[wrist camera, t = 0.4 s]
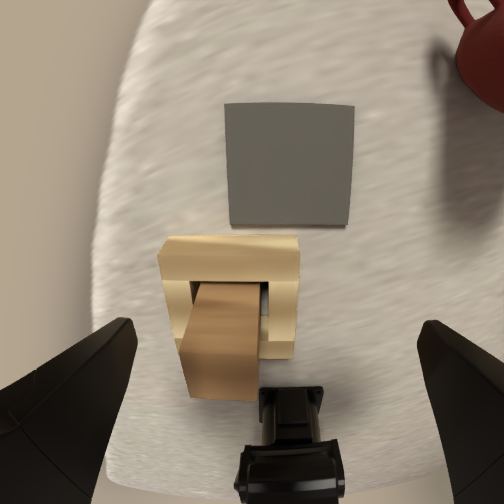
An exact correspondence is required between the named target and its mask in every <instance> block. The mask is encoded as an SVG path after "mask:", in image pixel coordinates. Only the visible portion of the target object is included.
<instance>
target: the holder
mask: <svg viewBox="0 0 504 504" xmlns="http://www.w3.org/2000/svg"><path fill="white" fill-rule="evenodd" d="M157 256H158V262H159V267H160V273H161V278H162V283H163V288H164V293H165V298H166V303H167V308H168V312H169V317H170V321H171V326H172V330H173V334H174V339H175V343H176V347H177V351H179V348H180V345H181V342H182V339H183V336H184V333H185V329H186V326H187V323H188V320H189V317H190V314H191V311H192V308H193V305H194V302H195V299H196V296H197V293H198V290H199V287H200V284H201V281H269V316H261V326H260V353H259V359H290V358H293V350H294V338H295V326H296V312H297V298H298V282H299V265H300V252H299V247H298V242H297V237H296V235H199V236H169V238H168V239H167V241H166V242H165V244H164V245H163V247H162V249H161V250H160V252H159V253H158V255H157ZM178 355H179V352H178Z"/></svg>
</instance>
